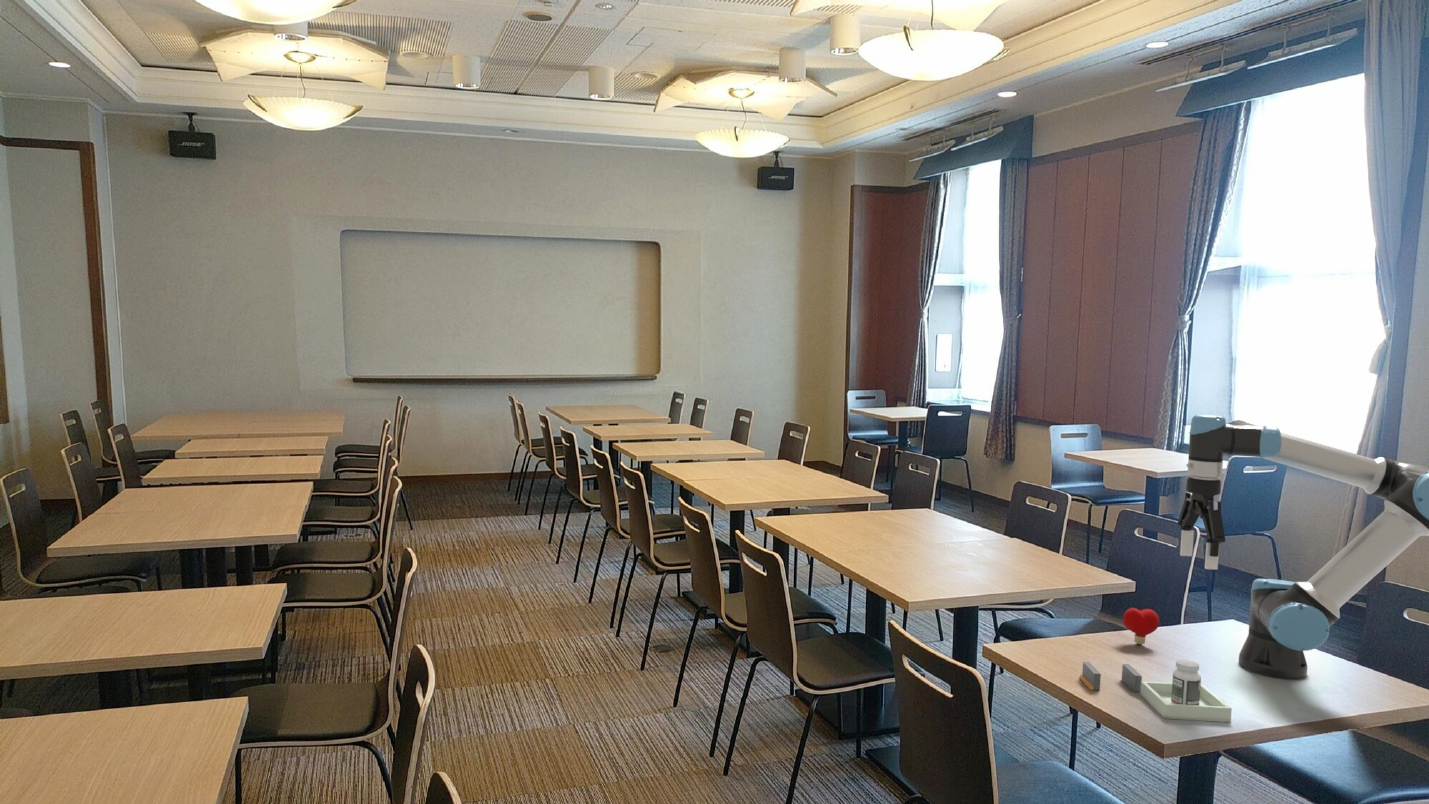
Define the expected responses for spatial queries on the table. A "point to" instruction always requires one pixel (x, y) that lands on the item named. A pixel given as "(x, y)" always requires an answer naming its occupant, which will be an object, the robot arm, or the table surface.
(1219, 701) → the tray
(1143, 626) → the red heart bulb
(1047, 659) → the table surface
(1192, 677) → the pill bottle
